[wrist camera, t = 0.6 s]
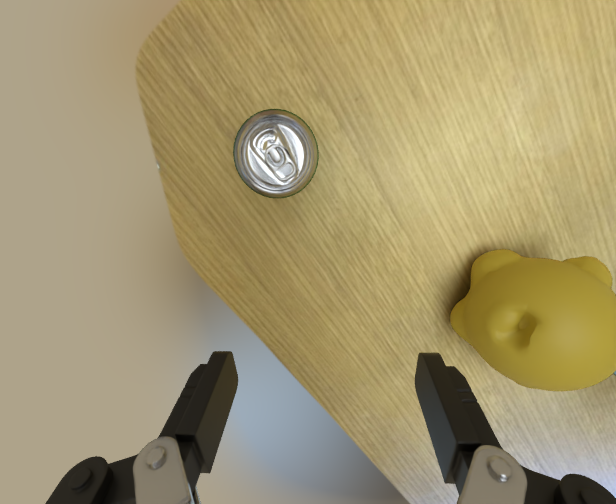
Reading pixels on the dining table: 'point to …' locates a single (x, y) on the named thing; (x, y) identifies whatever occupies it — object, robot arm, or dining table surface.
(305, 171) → the soda can
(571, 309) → the sculpture
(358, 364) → the dining table surface
